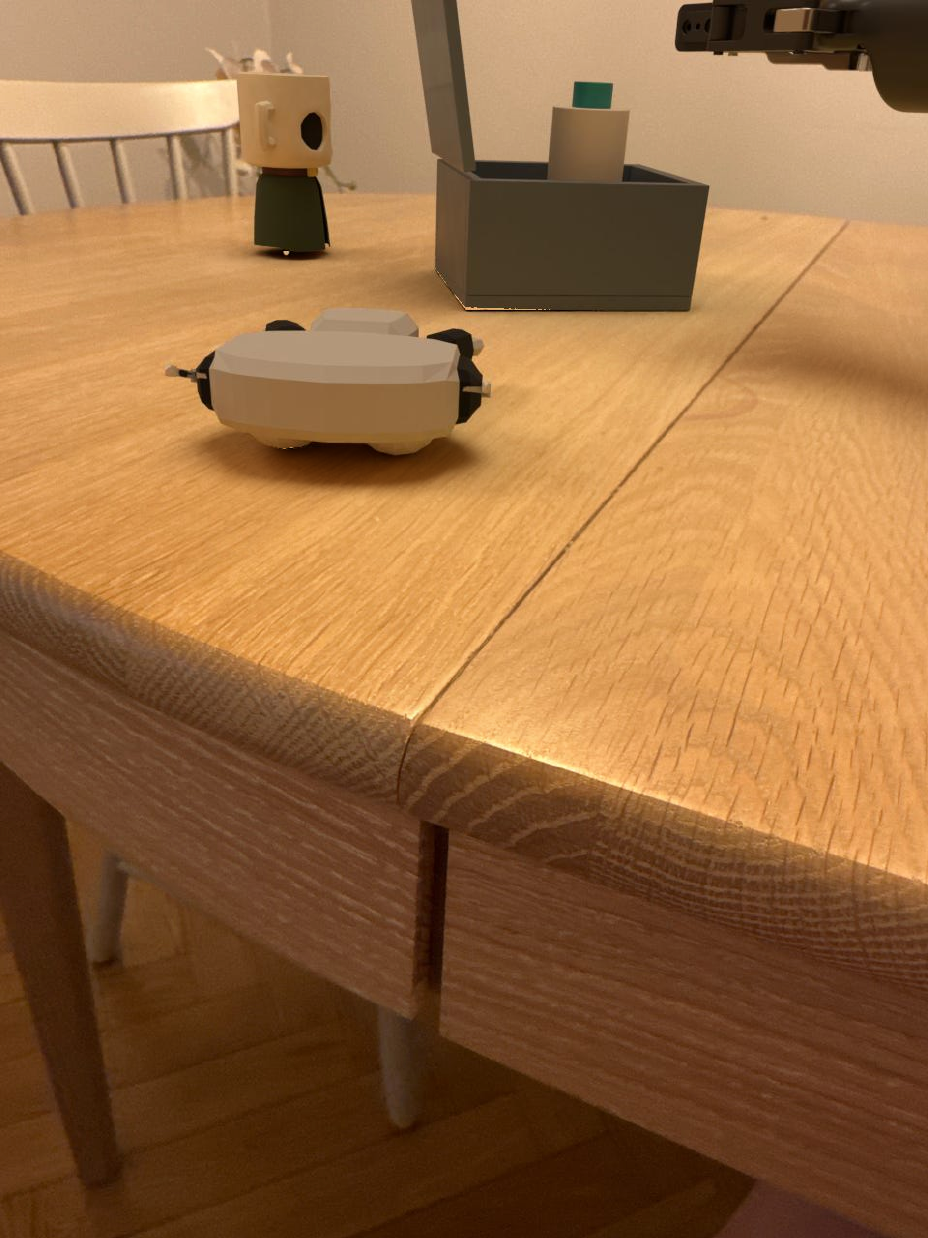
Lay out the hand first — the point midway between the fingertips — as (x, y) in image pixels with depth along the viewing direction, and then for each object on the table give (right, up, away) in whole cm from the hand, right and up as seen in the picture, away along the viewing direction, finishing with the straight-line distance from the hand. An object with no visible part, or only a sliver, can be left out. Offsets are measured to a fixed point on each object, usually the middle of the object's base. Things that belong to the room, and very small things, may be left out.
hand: (732, 31), depth 54 cm
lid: (-17, +5, +6) cm, 19 cm away
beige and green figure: (-30, -3, +25) cm, 39 cm away
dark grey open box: (-9, -9, +16) cm, 21 cm away
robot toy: (-21, -25, -11) cm, 34 cm away
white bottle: (-7, -9, +15) cm, 19 cm away
